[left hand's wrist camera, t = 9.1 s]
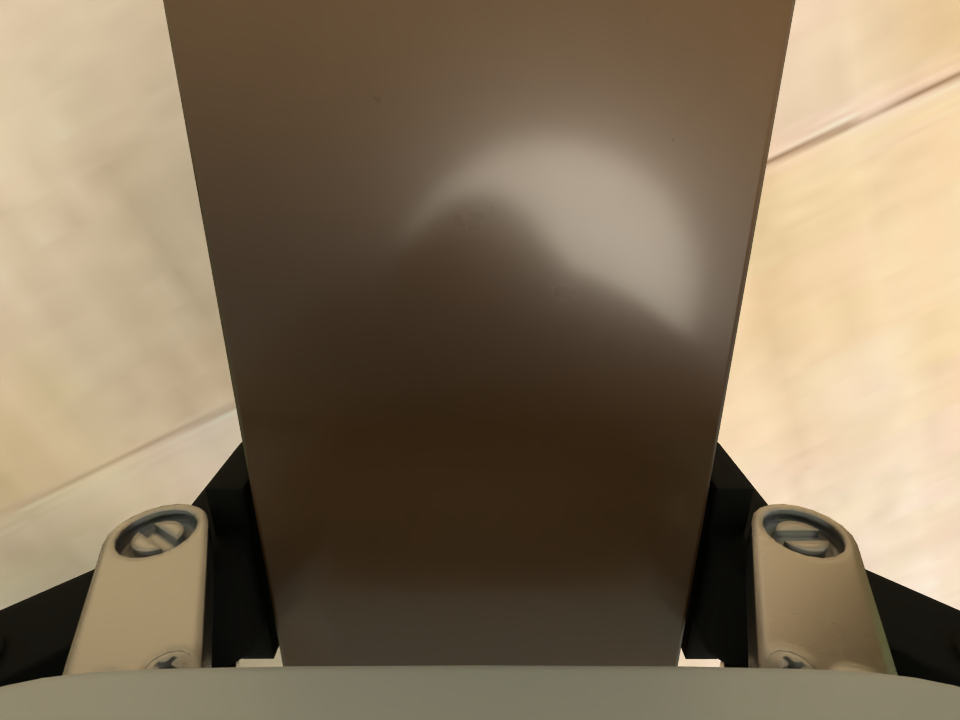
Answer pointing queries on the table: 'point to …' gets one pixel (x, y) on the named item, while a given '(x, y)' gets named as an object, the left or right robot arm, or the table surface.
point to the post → (479, 307)
